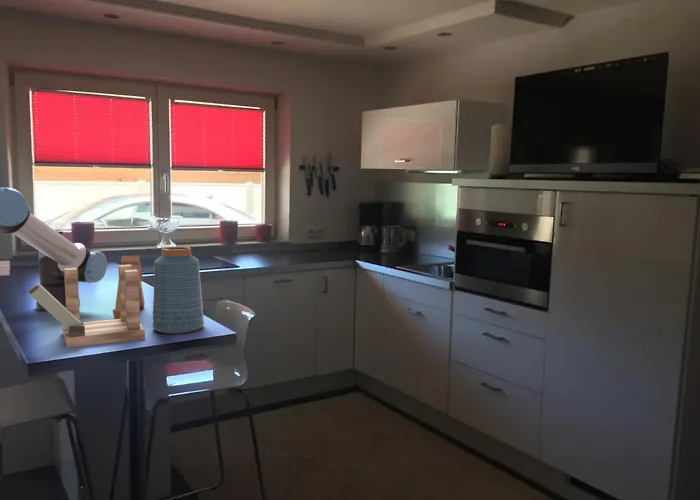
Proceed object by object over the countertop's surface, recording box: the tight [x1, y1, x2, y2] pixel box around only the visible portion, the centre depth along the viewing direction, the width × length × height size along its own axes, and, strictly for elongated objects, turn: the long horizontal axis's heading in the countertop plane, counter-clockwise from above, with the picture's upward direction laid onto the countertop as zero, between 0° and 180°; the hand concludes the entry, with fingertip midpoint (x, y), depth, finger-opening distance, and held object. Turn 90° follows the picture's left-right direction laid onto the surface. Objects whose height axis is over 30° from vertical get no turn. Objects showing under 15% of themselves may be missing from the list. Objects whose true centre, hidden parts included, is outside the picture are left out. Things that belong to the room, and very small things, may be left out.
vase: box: [152, 246, 205, 335], centre depth 198 cm, size 16×16×27 cm
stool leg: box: [28, 283, 82, 331], centre depth 177 cm, size 4×4×17 cm
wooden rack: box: [61, 264, 146, 349], centre depth 189 cm, size 18×22×21 cm
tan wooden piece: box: [112, 255, 145, 319], centre depth 218 cm, size 7×23×25 cm
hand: (9, 267), depth 170 cm, fingers open, 9 cm apart
